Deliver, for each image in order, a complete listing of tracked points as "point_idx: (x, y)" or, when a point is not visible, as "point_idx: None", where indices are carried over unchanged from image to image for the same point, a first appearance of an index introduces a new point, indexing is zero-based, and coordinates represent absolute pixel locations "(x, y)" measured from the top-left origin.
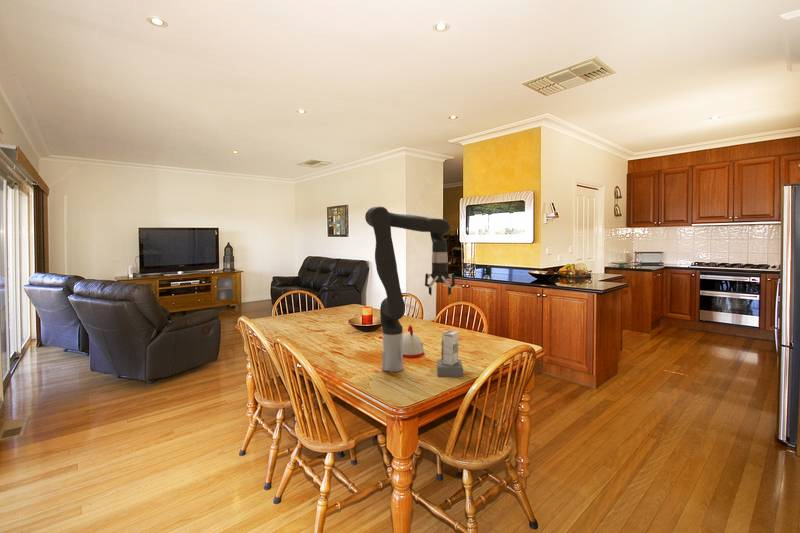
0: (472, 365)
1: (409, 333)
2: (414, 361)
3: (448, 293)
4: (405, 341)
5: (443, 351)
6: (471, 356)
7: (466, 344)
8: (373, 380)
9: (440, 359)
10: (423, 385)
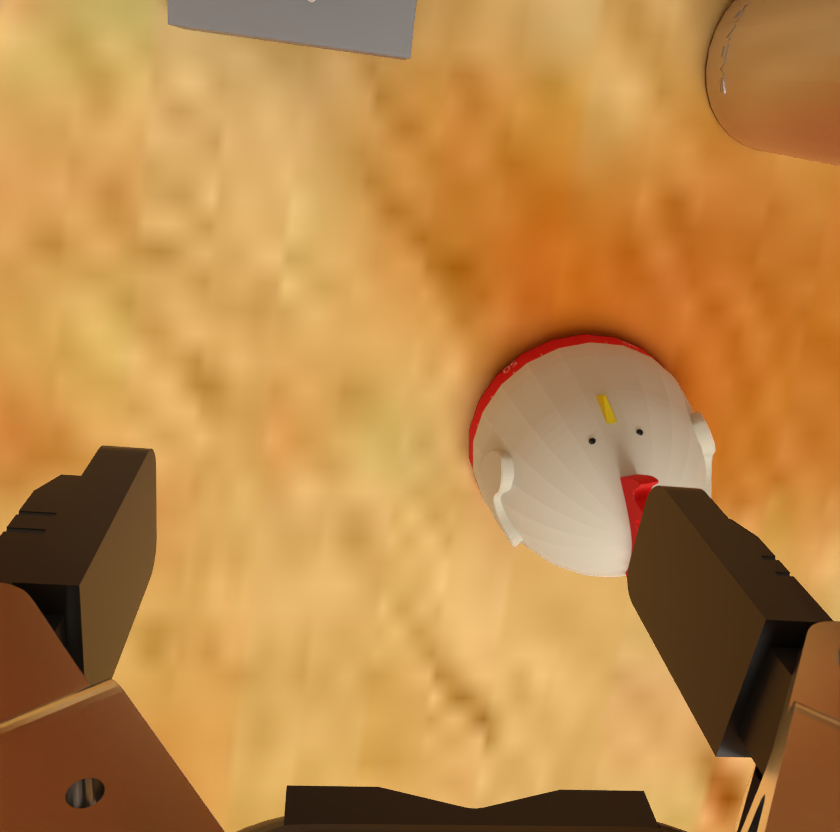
0: (66, 96)
1: None
2: (575, 244)
3: (125, 465)
4: (675, 427)
5: None
6: (61, 349)
7: None
8: None
9: (377, 47)
10: None
